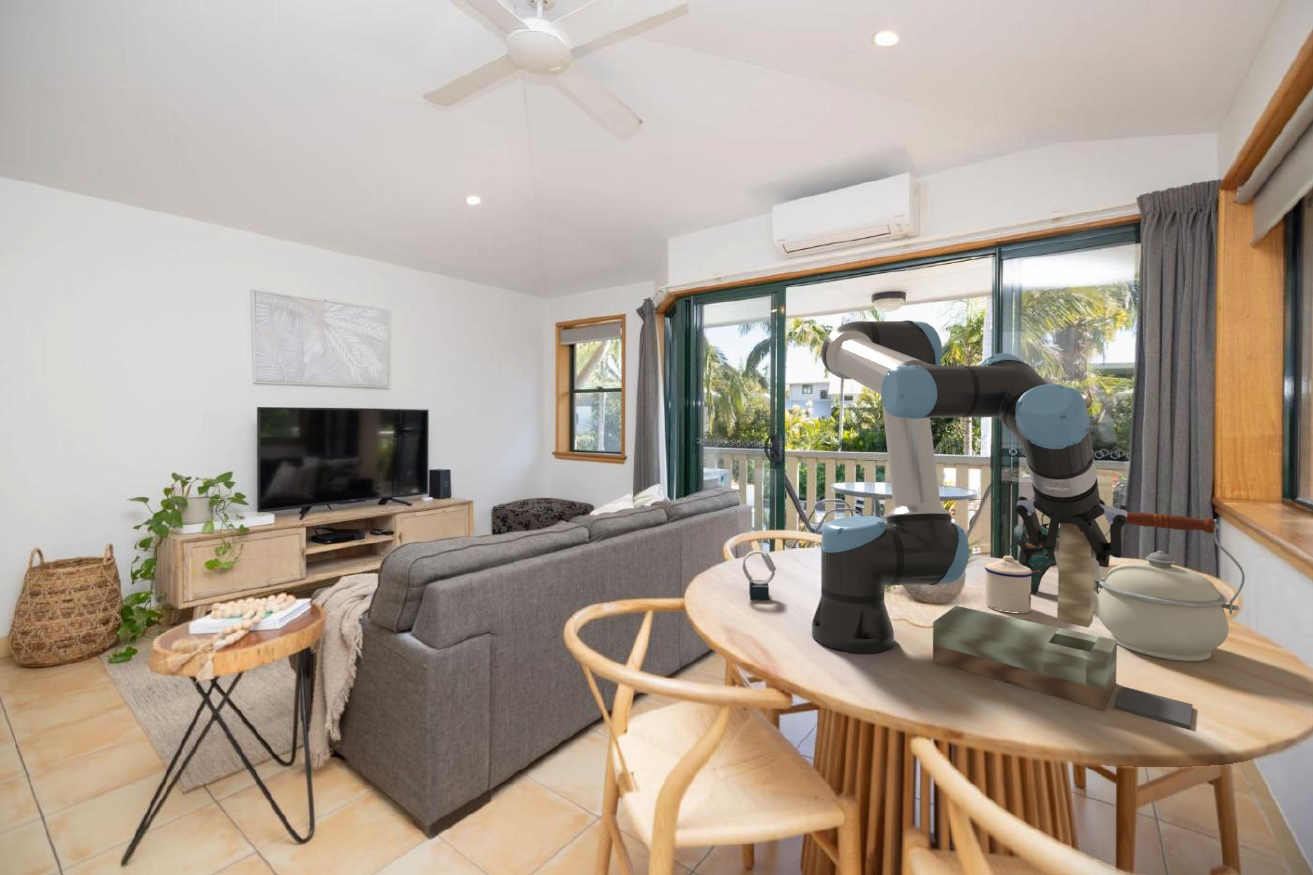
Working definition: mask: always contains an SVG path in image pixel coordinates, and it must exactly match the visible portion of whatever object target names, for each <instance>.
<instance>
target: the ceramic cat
mask: <svg viewBox="0 0 1313 875" xmlns="http://www.w3.org/2000/svg"><path fill="white" fill-rule="evenodd" d="M1044 516H1045V515H1044V514H1043V513H1042V515H1041V524H1040V526H1041V530H1042V534H1044V535H1047V534H1048V529H1049V527H1048V526H1049V523H1050V522H1049V523H1044V522H1043V521H1044ZM1012 536H1013V540H1014V542H1015V543H1016V544H1017V545H1018V546H1019V548H1020V550H1019V555H1018V561H1017V562H1018V563H1020V564H1021V565H1023V566H1025V567H1028V568H1030V569H1031V571H1032V573H1033V575H1032V576H1031V594H1039V591H1040V590H1039V589H1040V585H1041V581H1042V579H1043V577H1044V575H1045V574H1046V572H1047V571H1048V570H1049V569H1050V568H1052V567H1055V566H1056V567H1057V564H1056V560H1053V559H1049V557H1048V554H1047V550H1046V549H1045V547H1044V546H1041V545H1040V546H1038V547H1036V546H1033V545H1031V542H1030V539H1029V536H1028V533H1027V530H1026V527H1025V524H1024V521H1023V522H1020V523H1019V524H1017V525H1015V527H1014V529H1013V534H1012ZM1057 539H1060V526H1059V528H1058V533H1057V537H1056V540H1057ZM1097 583H1098V584H1100V583H1099V581H1097ZM1096 592H1099V588H1097V591H1096Z"/></svg>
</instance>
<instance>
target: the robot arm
mask: <svg viewBox="0 0 1313 875" xmlns="http://www.w3.org/2000/svg"><path fill="white" fill-rule="evenodd" d="M939 335H940V334H938V332H937V330H936V329H935V328H934V327H933V326H932V325H931V324H929V323H927V322H924V321H914V320H908V319H906V320H900V321H895V320H894V321H892V320H891V321H890V320H889V321H886V320H885V321H876V320H875V321H865V320H858V321H851V322H848V323H843V324H842V325H840V326H837V327H836V328H835V329H833V330H832V331H831V332H829V334H828V335H827V336H826V337H825V339H824V341H823V343H822V346H821V349H820V356H821V361H822V363H823V366H824V367H825V368H826V369H827V371H828V372H829V373H830V374H832V375H834V376H836V377H837V378H840V379H841V380H854V381H855V382H857V383H859V384H860V385H863V386H864V387H866V388H868V390H871V391H872V392H875V393H877V394H878V395H880V398H881V403H882V412H883V413H882V414H883V422H884V431H885V439H886V448H887V458H888V460H887V461H888V467H889V468H888V469H889V477H890V486H891V488H890V489H891V496H892V505H893V507H892V509H891V510H890V511H889V512H888V513H887V515H886V522H885V520H884V519H883V518H882V517H879V516H871V515H864V516H863V515H852V516H845V517H844V516H843V517H839V518H836V519H833V520H831V521H829V522H827V523H825V524H824V526H823V527H822V530H821V531H822V532H821V541H820V545H819V546H820V552H821V554H820V555H821V558H820V560H821V562H820V563H821V565H820V566H821V567H820V568H821V570H820V573H821V576H820V579H821V583H820V584H821V587H820V588H821V590H820V592H821V593H820V595H821V596H820V599H819V600H818V601H819V602H818V604H817V607H816V610H815V613H814V616H813V620H812V622H811V636H812V637H813V638H814V640H815V641H817V642H818V643H820V644H821V645H824V646H826V647H828V648H832V649H835V650H838V651H840V652H841V651H842V652H846V653H853V654H854V653H855V654H856V653H857V654H876V653H882V652H886V651H888V650H890V649H891V648H892V647H894V645H895V631H894V628H893V625H892V624H893V623H892V620H891V619H890V615H889V613H888V609H887V606H886V603H885V586H916V585H918V586H921V585H922V586H923V585H925V586H928V585H929V586H938V585H946V584H953V583H955V582H957V581H958V580H959V579H960V578H961V577H962V576H963V574H964V572H965V571H966V569H967V566H968V562H969V558H970V544H969V539H968V535H967V534H966V533H965V530H964V528H963V527H962V526H961V525H960V524H957V523H955V522H953V521H952V516H951V515H952V514H951V512H950V511H949V510H948V509H946V508H945V507H943V506H942V504H941V496H940V490H939V482H938V473H937V466H936V456H935V448H934V443H933V442H934V441H933V434H932V426H931V418H933V419H935V418H936V419H941V418H942V419H943V418H944V419H945V418H997V419H999V420H1000V421H1001V422H1002V423H1003V424H1004V425H1005V426H1006V428H1007V429H1008V430H1009V431H1010V432H1011V433H1012V434H1014V436H1015V437H1016V439H1018V440H1019V442H1020V444H1021V446H1022V447H1023V448H1022V449H1023V452H1024V455H1025V460H1026V464H1027V469H1028V473H1029V476H1030V481H1031V485H1032V488H1033V493H1034V498H1032V499H1031V498H1030V499H1028V498H1027V497H1026V496H1019V497H1018V499H1017V503H1016V507H1015V512H1016V513H1017V515H1019V516H1020V517H1021V518H1022V521H1023V522H1024V524H1025V527H1026V530H1027V533H1028V536H1029V539H1030V542H1031V545H1033V546H1036V547H1038V546H1040V545H1041V546H1044V547H1045V549H1046V550H1047V554H1048V557H1049V559H1053V560H1056V564H1057V565H1056V567H1057V573H1059V539H1057V540H1056V537H1057V533H1058V528H1059V527H1060V523H1062V524H1074V525H1077V526H1078V528H1079V530H1080V531H1081V532H1083V533H1084V535H1085V536H1086V538H1087V540H1088V542H1089V543H1090V545H1091V547H1092V555H1091V560H1092V566H1093V572H1094V579H1095V581H1099V582H1101V578H1103V577H1102V575H1103V569H1104V568H1109V565H1110V560H1111V559H1110V556H1111V557H1113V558H1116V559H1117V558H1118V559H1119V558H1122V556H1123V548H1124V526H1125V525H1126V524H1127V523H1126V519H1127V513H1129V508H1128V506H1127V505H1124V504H1119V505H1117V506H1116V507H1112V506H1109V505H1106V503H1105V501H1104V500H1102V499H1101V496H1100V492H1099V484H1098V478H1097V468H1096V462H1095V458H1094V449H1093V441H1092V433H1091V432H1092V431H1091V417H1090V412H1089V410H1088V408H1087V404H1086V402H1085V398H1084V397H1083V395H1082V394H1081V393H1080V391H1079V390H1077V389H1075V388H1073V387H1072V386H1063V385H1062V384H1059V383H1050V384H1049V383H1048V382H1047V381H1046V380H1045V379H1044V378H1043V377H1042V375H1040V374H1039V373H1037V371H1036V370H1035V369H1034V367H1033V366H1030V364H1029V363H1026V362H1024V361H1023V360H1022V359H1021V358H1019V357H1018V356H1016V355H1014V354H1011V353H1004V352H1002V353H1001V352H999V353H995V354H994V355H992V356H990V357H986V358H984V359H983V360H981V361H980V362H979V363H978V364H977V365H942V360H941V359H942V358H943V354H944V353H943V345H942V344H943V343H942V341H941V338H940V336H939ZM1036 510H1037V511H1039V512H1040V513H1042V514H1044V516H1046V517H1047V518H1048V519H1049V525H1048V528H1049V529H1048V534H1047V535H1044V534H1042V530H1041V526H1040V525H1041V523H1040V521H1039V517H1038V514H1037V511H1036ZM1103 515H1104V516H1105V519H1106V520H1107V523H1108V524H1109V529H1110V533H1109V537H1110V538H1109V539H1110V542H1109V541H1108V540H1107V538H1106V536H1104V535H1105V533H1104V532H1103V531H1102V529H1101V527H1100V525H1099V523H1098V522H1097V520H1096V519H1098V518H1099V517H1101V516H1103ZM1110 524H1111V525H1110Z"/></svg>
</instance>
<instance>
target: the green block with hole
mask: <svg viewBox="0 0 1313 875" xmlns="http://www.w3.org/2000/svg"><path fill="white" fill-rule="evenodd" d="M1117 657H1118V644H1117V640H1113V639H1111V638H1108V637H1103V636H1099V635H1094V634H1090V633H1084V632H1080V631H1074V630H1069V629H1067V628H1066V629H1065V628H1061V627H1057V626H1052V625H1047V624H1043V623H1038V622H1034V621H1029V620H1024V619H1020V618H1019V619H1018V618H1015V617H1010V616H1007V615H1005V616H1004V615H1002V614H997V613H992V612H987V611H983V610H977V609H974V608H973V609H972V608H968V607H963V606H958V605H955V606H953V607H952V608H950V609H949V610H948V611H947V612H945V613H943V614H942V615H941V616H939V617H938V618H937V619H935V620H934V621H933V623H932V662H934V663H938V664H940V665H944V666H949V667H951V668H956V669H959V670H962V671H965V672H969V673H973V674H976V675H979V676H983V677H986V678H989V679H993V680H998V681H1000V682H1004V683H1008V684H1011V685H1014V686H1018V687H1022V688H1023V689H1024V688H1025V689H1029V690H1032V691H1036V692H1039V693H1042V694H1046V695H1049V696H1053V697H1057V698H1059V699H1062V700H1063V699H1064V700H1068V701H1071V702H1074V703H1077V704H1080V705H1084V706H1088V707H1091V708H1095V709H1098V710H1101V711H1106V710H1107V707H1108V705H1109V702H1110V700H1111V697H1112V695H1113V692H1114V689H1115V687H1116V684H1117V660H1118V659H1117Z"/></svg>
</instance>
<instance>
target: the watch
mask: <svg viewBox="0 0 1313 875" xmlns="http://www.w3.org/2000/svg"><path fill="white" fill-rule="evenodd" d="M755 554H757V555H758V554H760V555H761V557H762V560H763V562H764V563H765V566H766V568H767V569H768V570H769V571H770V572H771V575H770V576H769V577H768V578H767V579H765V580H763V579H762V580H761V579H759V580H758V579H756V580H755V579H753V576H752V575H751V574H750V573H749V570H748V569H747V566H746V560H747V559H748V558H749V557H750V556H752V555H755ZM742 570H743V573H744V575H745V578H746V579H747V580H748V585H749V586H748V587H749V590H748V592H749V599H750V600H751V601H754V600H756V601H769V600H770V598H769V596H770V592H769V591H770V589H769V588H770V587H769V583H770V582H771V581H772V580H773V579H774V577H775V574H776V573H775V571H777V568H776V565H775V564H774V562H773V559H772V558H771V556H770V554H769V553H768V552H767V551H763V550H758V549H755V550H751V551H749V552H748V553H747V554H745V556H744V557H743V560H742Z"/></svg>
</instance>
